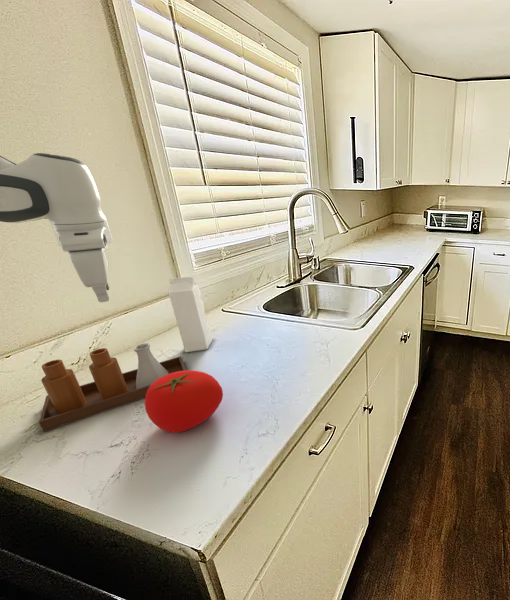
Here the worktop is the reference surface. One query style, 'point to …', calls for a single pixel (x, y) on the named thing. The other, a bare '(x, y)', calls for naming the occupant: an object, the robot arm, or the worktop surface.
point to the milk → (189, 313)
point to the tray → (96, 403)
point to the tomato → (182, 400)
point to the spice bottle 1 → (62, 387)
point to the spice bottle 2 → (107, 374)
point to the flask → (147, 367)
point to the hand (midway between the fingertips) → (104, 295)
